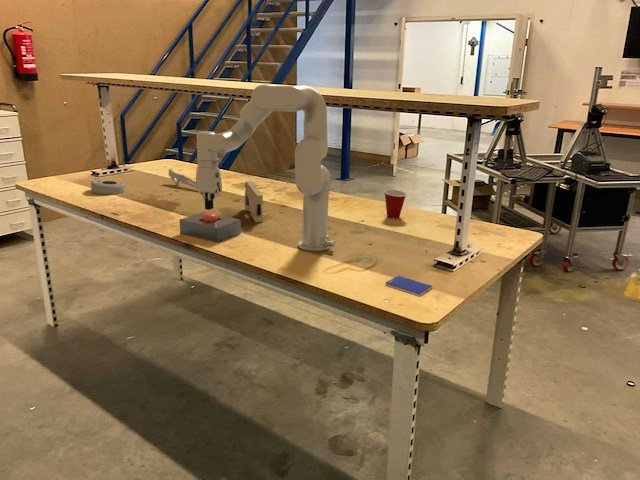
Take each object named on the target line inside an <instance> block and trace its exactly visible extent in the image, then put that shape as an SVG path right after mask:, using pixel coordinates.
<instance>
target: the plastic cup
mask: <svg viewBox="0 0 640 480" xmlns="http://www.w3.org/2000/svg"><path fill="white" fill-rule="evenodd" d="M383 193H384V197H385V198H384V199H385V209H386V217H387V218H390V219H399V218H400V217H401V212H402V210H403V205H404V203H405V199H406V197H407V196H408V193H407V192H405V191H402V190H397V189H385V190H384V191H383Z"/></svg>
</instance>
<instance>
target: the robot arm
mask: <svg viewBox="0 0 640 480" xmlns="http://www.w3.org/2000/svg"><path fill="white" fill-rule="evenodd" d="M327 110H328V109H327V104H326V101H325V98H324V97H323V95H322V94H321V93H320V91H318V90H316V89H315V88H313V87H311V86H309V85H290V86H286V85H275V84H271V83H269V84H260V85H257V86H256V87H255V88H254V89H253V90H252V92H251V95H250V100H249V101H248V102H246V104H245V105H244V106H242V107H241V109H240V111H239V114H240V117H239V119H238V121H237V122H236V123H235V124H234V125H233V126H232V127H231V128H230V129H229V130H227V131H223V132H219V133H216V132H215V131H209V130H203V131H199V132H197V134H196V155H197V166H196V171H195V172H196V173H195V181H196V184H195V185H196V190H197V193H198V194H200V195H201V196H202V198H203V200H204V209H205V210H208V211H209V210H212V209H213V210H214V200H215V198H216V197H220V196H221V194H220V192H222V191H223V184H222V176H221V175H222V174H221V171H220V167H218V166H219V164H220V163H219V162H218V154H226V153H229V152H233V151H235V150H237V149H239V148H240V147H241V146H242V145H243V144H244V143H245V142H246V141H247V140H248V139H249V138H250V137H251V136H252V135H253V133H254V132H256V130H257V128H258V126H259V125H260V124H262V123H263V122H264V121H265V119H267V118H268V117H269V115H271V114H272V113H273V112H284V113H285V112H288V113H290V112H291V113H293V112H300V111H303V113H304V116H303V138H302V139H300V140H299V142H298V143H296V144H297V145H296V146H295V149H294V150H295V152H294V173H295V174H294V176H295V177H294V178H295V185H296V188H297V190H298V192H300V193H301V194H302V196H303V198H302V237H301V238H302V239H301V240H299V241H298V245H297V246H298V247H299V249H301V250H303V251H307V252H308V251H309V252H322V251H327V250H329V249H330V248H334V247H335V245H336V240H334V239H330V235H328V221H329V219H328V217H329V196H330V195H329V194H330V187H331V186H330V185H331V174H330V171H329V169H328V168H327V167H326V166H324V165H323V164H322V161H323V160H324V159H325V158H326V157H327V154H328V149H329V146H328V112H327Z"/></svg>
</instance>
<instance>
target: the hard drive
mask: <svg viewBox="0 0 640 480" xmlns="http://www.w3.org/2000/svg"><path fill="white" fill-rule="evenodd" d="M385 286H387V287H390V288H393V289H397V290H400V291H403V292H405V293H408V294H413V295H415V296H418V297H420V296H422V295H424V294H425V293H427V292H428V291H430V290H432V289H433V285H432V284H431V285H430V284H427V283H425V282H420V281H418V280H414V279H411V278H407V277H405V276H401V275H397V276H394V277H393V278H391V279H389V280H387V281H386V282H385Z"/></svg>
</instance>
